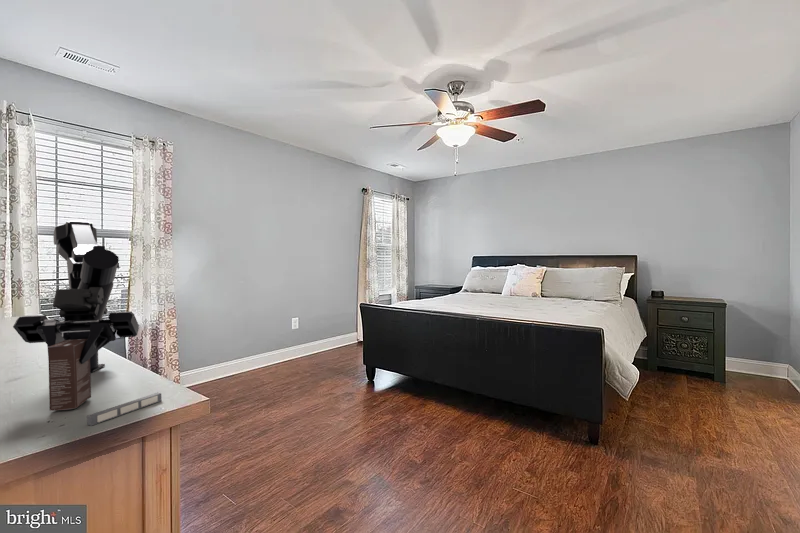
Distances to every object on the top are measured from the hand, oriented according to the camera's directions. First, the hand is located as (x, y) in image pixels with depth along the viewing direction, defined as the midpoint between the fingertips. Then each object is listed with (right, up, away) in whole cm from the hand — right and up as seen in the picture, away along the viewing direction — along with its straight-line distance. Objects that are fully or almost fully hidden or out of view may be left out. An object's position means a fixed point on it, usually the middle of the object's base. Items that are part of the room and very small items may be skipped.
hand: (66, 364), depth 70 cm
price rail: (+12, -8, -1) cm, 15 cm away
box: (-1, -8, +1) cm, 8 cm away
